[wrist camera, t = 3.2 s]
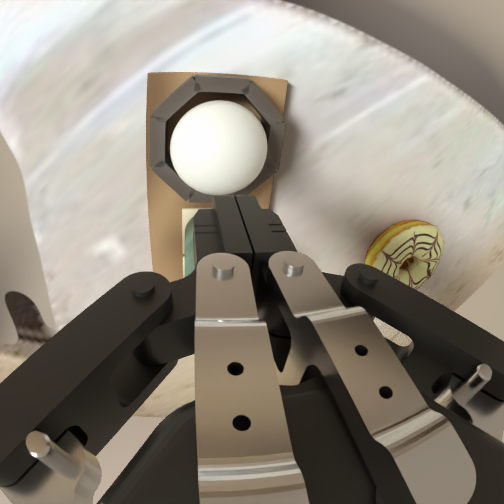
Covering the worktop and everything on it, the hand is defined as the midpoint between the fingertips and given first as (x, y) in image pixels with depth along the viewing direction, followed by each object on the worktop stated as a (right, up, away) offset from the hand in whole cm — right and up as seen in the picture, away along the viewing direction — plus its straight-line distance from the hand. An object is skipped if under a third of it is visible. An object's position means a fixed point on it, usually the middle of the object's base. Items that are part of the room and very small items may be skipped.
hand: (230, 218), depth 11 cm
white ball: (-2, +7, +9) cm, 12 cm away
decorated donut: (+18, -1, +23) cm, 29 cm away
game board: (-3, +2, +15) cm, 16 cm away
